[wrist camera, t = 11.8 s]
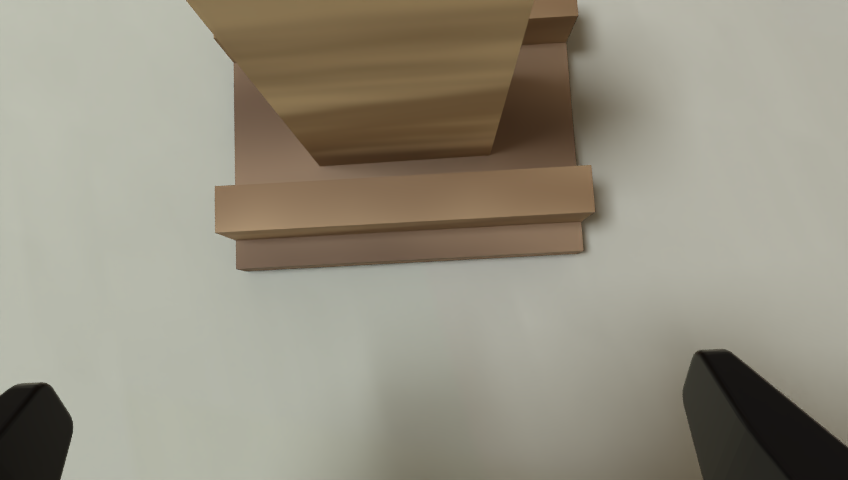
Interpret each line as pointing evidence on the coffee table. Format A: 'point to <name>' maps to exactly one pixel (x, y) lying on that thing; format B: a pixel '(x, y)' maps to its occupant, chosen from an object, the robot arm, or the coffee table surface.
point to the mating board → (417, 181)
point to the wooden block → (377, 71)
